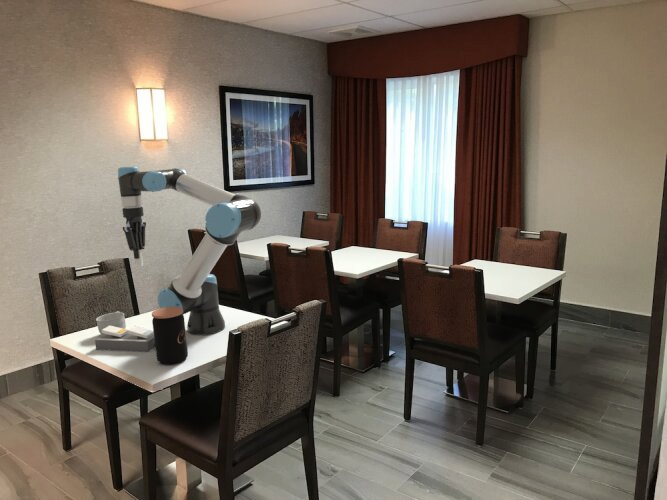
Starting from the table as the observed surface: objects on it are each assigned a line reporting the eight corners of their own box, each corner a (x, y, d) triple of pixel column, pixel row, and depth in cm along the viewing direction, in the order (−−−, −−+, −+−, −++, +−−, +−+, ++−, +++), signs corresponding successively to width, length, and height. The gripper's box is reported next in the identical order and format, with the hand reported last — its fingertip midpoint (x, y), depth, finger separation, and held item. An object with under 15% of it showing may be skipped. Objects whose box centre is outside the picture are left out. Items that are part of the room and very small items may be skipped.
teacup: (116, 339, 216) (114, 320, 215) (92, 338, 219) (89, 319, 217) (136, 327, 230) (133, 309, 228) (113, 327, 232) (110, 309, 230)
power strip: (171, 342, 210) (170, 330, 209) (158, 352, 201) (157, 339, 200) (111, 340, 216) (110, 328, 215) (96, 349, 206) (94, 337, 205)
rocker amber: (128, 332, 210) (128, 329, 210) (120, 337, 206) (120, 333, 205) (109, 328, 212) (109, 325, 212) (101, 332, 207) (101, 329, 207)
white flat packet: (153, 333, 208) (154, 330, 208) (146, 338, 203) (147, 335, 203) (134, 328, 209) (135, 325, 209) (127, 333, 205) (127, 329, 204)
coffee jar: (185, 364, 188) (179, 314, 185) (153, 367, 187) (147, 317, 184) (190, 352, 199) (185, 305, 195) (161, 355, 198) (155, 307, 194)
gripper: (133, 204, 218) (140, 262, 223) (113, 209, 205) (121, 270, 210) (150, 204, 216) (156, 262, 221) (131, 208, 204) (139, 270, 208)
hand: (139, 266), depth 215 cm, fingers closed
